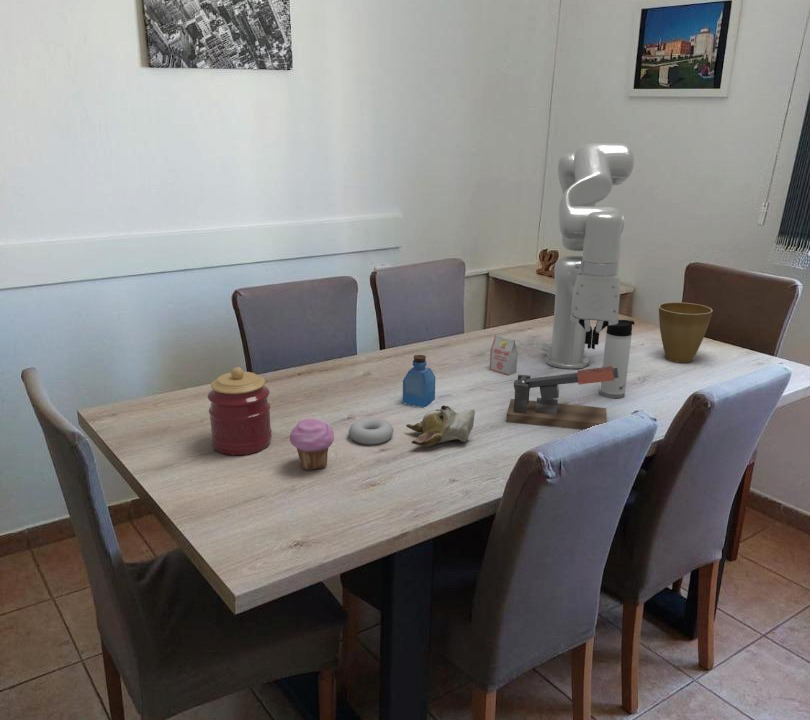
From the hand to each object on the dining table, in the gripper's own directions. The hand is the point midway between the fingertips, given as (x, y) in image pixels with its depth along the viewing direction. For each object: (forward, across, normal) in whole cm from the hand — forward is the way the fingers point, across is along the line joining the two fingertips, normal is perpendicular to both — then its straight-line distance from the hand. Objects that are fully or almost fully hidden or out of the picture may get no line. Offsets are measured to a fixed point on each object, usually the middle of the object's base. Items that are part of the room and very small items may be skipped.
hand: (591, 346), depth 164 cm
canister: (+18, -73, -33) cm, 82 cm away
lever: (+12, -4, 0) cm, 13 cm away
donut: (+19, -46, -22) cm, 55 cm away
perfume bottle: (+19, -41, +2) cm, 45 cm away
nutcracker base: (+19, -6, 0) cm, 20 cm away
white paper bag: (+19, -23, +30) cm, 43 cm away
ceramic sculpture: (+19, -31, -20) cm, 41 cm away
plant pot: (+19, +27, +56) cm, 65 cm away
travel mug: (+19, +7, +20) cm, 28 cm away
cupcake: (+18, -54, -38) cm, 69 cm away
